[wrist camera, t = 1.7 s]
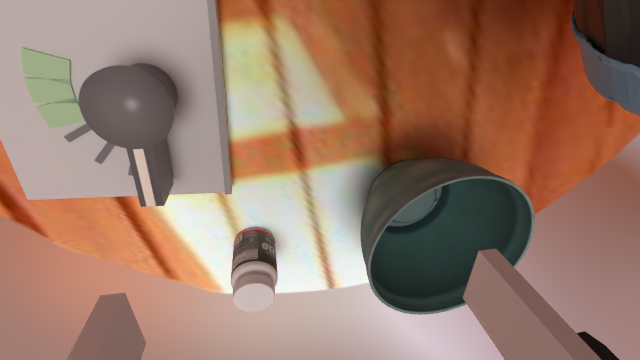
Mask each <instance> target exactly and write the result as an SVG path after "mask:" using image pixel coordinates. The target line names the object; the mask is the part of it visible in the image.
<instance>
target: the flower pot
mask: <svg viewBox="0 0 640 360" xmlns="http://www.w3.org/2000/svg"><path fill="white" fill-rule="evenodd" d="M435 199H436V200H435ZM534 224H535V216H534V210H533V206H532V203H531V201H530V199H529V197H528V196H527V194H526V193H525V192H524V191H523V190H522V189H521V188H520V187H519V186H517V185H516V184H514V183H512V182H511V181H509V180H507V179H505V178H503V177H501V176H498V175H495V174H493V173H491V172H490V171H488V170H486V169H484V168H481V167H479V166H477V165H474V164H471V163H468V162H464V161H459V160H454V159H448V158H426V159H410V160H404V161H401V162H398V163H396V164H394V165H392V166H390V167H388V168H387V169H386V170H384V171H383V172H382V173H381V174H380V175H379V176H378V177H377V178H376V180H375V181H374V183H373V185H372V186H371V189H370V192H369V196H368V200H367V202H366V204H365V207H364V211H363V215H362V221H361V247H362V253H363V257H364V261H365V264H366V269H367V275H368V279H369V282H370V286H371V289H372V290H373V292H374V294H375V295H376V296H377V297H378V299H379V300H380V301H381V302H382V303H384V304H385V305H387V306H388V307H390V308H393V309H395V310H397V311H400V312H403V313H409V314H434V313H439V312H445V311H448V310H452V309H455V308H458V307H461V306H463V305H466V304H467V303H466V302H465V300H464V299H463V296H464V293H465V290H466V287H467V284H468V281H469V278H470V275H471V272H472V269H473V266H474V263H475V260H476V257H477V254H478V252H479V251H480V250H488V249H497V250H498V251H499V252H500V253H501V254H502V255H503V256H504V257H505V258H506V260H507V261H508V262H509V263H510V264H511V265H512V266H513V267H514V268H515V267H516V266H517V265H518V263H519V262H520V261H521V259H522V258H523V256H524V254H525V253H526V251H527V249H528V247H529V244H530V242H531V239H532V235H533V231H534Z"/></svg>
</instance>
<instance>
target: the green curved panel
mask: <svg viewBox="0 0 640 360" xmlns="http://www.w3.org/2000/svg"><path fill="white" fill-rule="evenodd" d="M21 51H22V64H23V74H27V75H31V76H35V77H39V78H28V77H26V78H24V79H25V82H26V84H27V87H28V90H29V92H30V95H31V98H32V100H33V103H48V104H44V105H40V106H37V107H36V108H37V110H38V111H39V113H40V114H41V116H42V117H43V118H44V120H45V121H46V123H47V124H48V126H49V127H50V129H52V128H56V127H60V126H65V125H69V124H73V123H77V122H81V121H85V120H84V118H83V116H82V114H81V111H80V107H79V103H78V101H77V99H76V96H75V92H74V89H73V86H72V83H71V60H69V59H65V58H61V57H58V56H54V55H50V54H46V53H42V52H39V51H35V50H31V49H27V48H24V47H23V48H21ZM90 130H92V129H91V128H90V127H89V126H88V124H87V123H86V124H85V125H83V126H81V127H79V128H78V129H76V130H74V131H73V132H71V133H69V134H67V135H66V136H64V138H65V139H66V140H67V141H68V142H69V143H70V142H71V141H73V140H75V139H77V138H78V137H80V136H82V135H84V134H85V133H87V132H89V131H90ZM114 146H115V145H113V144H111V143H109V142H107V143H106V145H105V146H104V147H103V149H102V150H101V152H100V153H99V154H98V156H97V157H96V159H95V160H94V161H96V162H98V163H99V164H102V163H103V161H104V160H105V158H106V157H107V156H108V154H109V153H110V152H111V150H112V149H113V147H114ZM128 175H130V176H133V173H132V169H131V165H130V167H129V172H128Z"/></svg>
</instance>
